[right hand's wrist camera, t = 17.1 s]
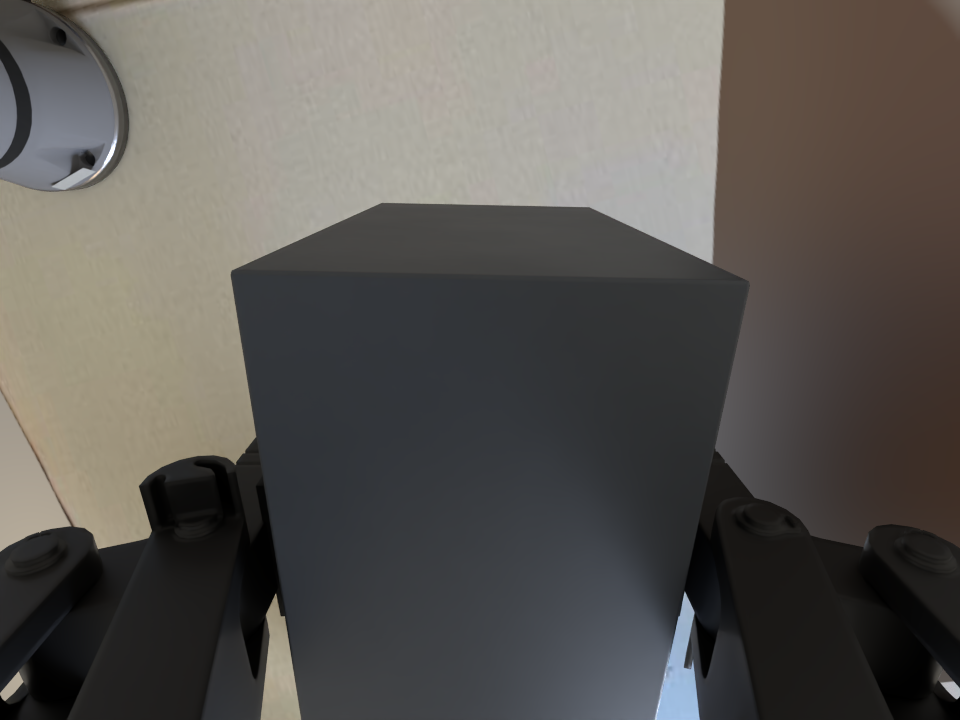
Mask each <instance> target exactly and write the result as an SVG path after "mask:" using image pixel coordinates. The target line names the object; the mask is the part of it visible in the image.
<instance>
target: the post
mask: <svg viewBox="0 0 960 720" xmlns="http://www.w3.org/2000/svg"><path fill="white" fill-rule="evenodd" d="M231 280H232V286H233V292H234V299H235V305H236V311H237V317H238V324H239V330H240V336H241V343H242V349H243V355H244V361H245V368H246V374H247V380H248V387H249V393H250V399H251V406H252V412H253V418H254V424H255V431H256V437H257V443H258V450H259V456H260V462H261V468H262V475H263V481H264V487H265V494H266V500H267V506H268V513H269V519H270V525H271V531H272V538H273V544H274V550H275V557H276V563H277V569H278V575H279V582H280V588H281V594H282V601H283V607H284V613H285V619H286V626H287V632H288V638H289V645H290V651H291V657H292V664H293V670H294V676H295V682H296V689H297V695H298V701H299V708H300V714H301V720H656V718H657V713H658V708H659V704H660V699H661V695H662V690H663V685H664V681H665V676H666V671H667V667H668V662H669V657H670V653H671V648H672V644H673V639H674V634H675V630H676V625H677V620H678V616H679V611H680V606H681V602H682V597H683V593H684V588H685V583H686V579H687V574H688V569H689V565H690V560H691V555H692V551H693V546H694V542H695V537H696V532H697V528H698V523H699V518H700V514H701V509H702V504H703V500H704V495H705V491H706V486H707V481H708V477H709V472H710V467H711V463H712V458H713V454H714V449H715V444H716V440H717V435H718V430H719V426H720V421H721V416H722V412H723V407H724V402H725V398H726V393H727V389H728V384H729V379H730V375H731V370H732V365H733V361H734V356H735V351H736V347H737V342H738V338H739V333H740V328H741V324H742V319H743V314H744V310H745V305H746V300H747V295H748V291H749V286H750V285H749V281H747V280H745V279H743V278H740V277H738V276H736V275H734V274H732V273H730V272H727V271H725V270H723V269H721V268H719V267H717V266H715V265H712V264H710V263H708V262H706V261H704V260H702V259H699V258H697V257H695V256H693V255H691V254H689V253H686V252H684V251H682V250H680V249H678V248H676V247H674V246H671V245H669V244H667V243H665V242H663V241H661V240H658V239H656V238H654V237H652V236H650V235H648V234H646V233H643V232H641V231H639V230H637V229H635V228H633V227H630V226H628V225H626V224H624V223H622V222H620V221H618V220H615V219H613V218H611V217H609V216H607V215H605V214H602V213H600V212H598V211H596V210H594V209H592V208H590V207H546V206H499V205H452V204H405V203H381V204H379V205H376V206H374V207H372V208H370V209H368V210H365V211H363V212H361V213H359V214H356V215H354V216H352V217H350V218H348V219H345V220H343V221H341V222H339V223H336V224H334V225H332V226H330V227H328V228H325V229H323V230H321V231H319V232H316V233H314V234H312V235H310V236H308V237H305V238H303V239H301V240H299V241H297V242H294V243H292V244H290V245H288V246H285V247H283V248H281V249H279V250H277V251H274V252H272V253H270V254H268V255H265V256H263V257H261V258H259V259H257V260H254V261H252V262H250V263H248V264H246V265H243V266H241V267H239V268H237V269H234V270H232V272H231Z"/></svg>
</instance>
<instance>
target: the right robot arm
mask: <svg viewBox="0 0 960 720" xmlns="http://www.w3.org/2000/svg"><path fill="white" fill-rule="evenodd" d="M128 131H129V118H128V109H127V103H126V99H125V95H124V92H123V89H122V86H121V83H120V81H119V79H118V76H117V74H116V72H115V70H114V69H113V67H112V65H111V63H110V62H109V60H108V59H107V57H106V56H105V54H104V53H103V51H102V50H101V49H100V48H99V46H98V45H97V44H96V43H95V42H94V41H93V40H92V39H91V37H90V36H89V35H88V34H87V33H85V32H84V31H83V30H82V29H81V28H80V27H79V26H77V25H76V24H75V23H73V22H72V21H71V20H69V19H67V18H66V17H64V16H63V15H61V14H59V13H57V12H55V11H53V10H51V9H49V8H46V7H44V6H41V5H38V4H35V3H32V2H31V0H0V179H2V180H5V181H8V182H12V183H15V184H18V185H21V186H24V187H27V188H30V189H34V190H40V191H50V192H51V191H69V190H78V189H83V188H87V187H90V186H92V185H95V184H96V183H98V182H100V181H102V180H103V179H104V178H106V177H107V176H108V175H109V174H110V173H111V172H112V171H113V170H114V169H115V167H116V166H117V164H118V163H119V161H120V160H121V157H122V155H123V153H124V150H125V147H126V143H127V139H128ZM139 488H140V492H141V495H142V498H143V502H144V505H145V509H146V512H147V515H148V519H149V522H150V526H151V529H152V532H151V535H150V537H149V538H148V539H144V540H140V541H136V542H131V543H126V544H121V545H116V546H112V547H107V548H102V549H98V548H97V546H96V543H95V540H94V537H93V534H92V533H90V532H89V531H88V530H86V529H85V528H79V527H63V528H55V529H50V530H45V531H41V532H40V533H39V532H38V533H35V534H32V535H30V536H27V537H26V538H24V539H22V540H20V541H18V542H16V543H14V544H12V545H10V546H8V547H6V548H5V549H4V550H2V551H1V552H0V692H1V691H2V690H3V689H4V688H5V686H6V685H7V684H8V683H9V682H10V681H11V679H12V678H13V677H14V676H15V675H16V674H17V672H18V671H19V673H20V675H21V677H22V679H23V683H22V685H21V686H20V687H19V688H18V689H17V690H16V692H15V693H14V694H13V695H12V696H10V697H9V698H8V699H7V700H6V701H4V700H3V699H2V698H1V696H0V720H260V718H261V709H262V700H263V691H264V682H265V673H266V663H267V654H268V645H269V636H270V635H269V629H268V623H267V618H266V613H267V611H268V609H269V607H270V605H271V602H272V600H273V598H274V596H275V594H277V599H278V604H279V609H280V615H281V616H285V613H284V607H283V601H282V594H281V588H280V582H279V575H278V569H277V563H276V557H275V550H274V544H273V538H272V531H271V525H270V519H269V513H268V506H267V500H266V494H265V487H264V481H263V475H262V468H261V462H260V456H259V450H258V443H257V437H256V438H255V439H254V440H253V442H252V443H251V444H250V446H249V447H248V448H247V449H246V451H245V453H243V454H242V456H241V457H240V458H239V459H238V461H237V462H236V465H235V464H234V463H233V462H231V461H230V460H229V459H227V458H224V457H219V456H214V455H212V456H196V457H191V458H187V459H182V460H179V461H176V462H174V463H171V464H169V465H166V466H164V467H161V468H160V469H158V470H157V471H155V472H154V473H152V474H150V475H149V476H148V477H147V478H146V479H145V480H144V481H143V482H142V483H141V484H140V485H139ZM684 591H685V592H686V595H687V597H688V599H689V601H690V603H691V605H692V607H693V609H694V612H695V613H694V618H693V623H692V628H691V633H690V637H689V642H688V647H687V652H686V657H685V663H684V668H687V669H691V666H692V661H693V662H694V671H695V680H696V689H697V699H698V708H699V717H700V720H960V697H959V698H958V699H955V698H954V697H953V696H952V695H951V694H950V693H949V692H948V691H947V690H946V689H945V688H944V687H943V686H942V684H941V683H940V682H939V681H938V679H939V677H940V675H941V672H942V670H943V669H944V670H945V671H946V673H947V674H948V675H949V676H950V677H951V678H952V680H953V681H954V682H955V683H956V684H957V685H958V686H959V688H960V548H958V547H957V546H956V545H954V544H953V543H950V542H948V541H946V540H944V539H942V538H940V537H938V536H936V535H935V534H933V533H930V532H927V531H924V530H923V531H922V530H920V529H917V528H913V527H908V526H900V525H893V524H890V525H881V526H876V527H875V528H874V529H872V530H871V531H869V533H868V536H867V539H866V541H865V544H864V547H860V546H855V545H850V544H845V543H840V542H836V541H831V540H826V539H821V538H818V537H814V536H810V534H809V532H808V530H807V528H806V527H805V526H804V524H803V523H802V522H801V520H800V519H799V518H797V517H796V516H794V515H793V514H792V513H790V512H789V511H788V510H786V509H784V508H782V507H780V506H777V505H775V504H773V503H771V502H768V501H764V500H760V499H756V498H754V497H753V495H752V494H751V493H750V492H749V490H748V489H747V488H746V487H745V485H744V484H743V483H742V482H741V480H740V479H739V478H738V477H737V475H736V474H735V473H734V472H733V470H732V469H731V468H730V467H729V465H728V464H727V463H725V461H724V459H723V458H722V457H721V455H720V454H719V453H718V452H716V451H715V449H714V454H713V458H712V463H711V467H710V472H709V477H708V481H707V486H706V491H705V495H704V500H703V504H702V509H701V514H700V518H699V523H698V528H697V532H696V537H695V542H694V546H693V551H692V555H691V560H690V565H689V569H688V574H687V579H686V583H685V588H684ZM683 596H684V593H683ZM682 601H683V597H682ZM681 607H682V602H681V606H680V611H679V616H680V612H681Z"/></svg>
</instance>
